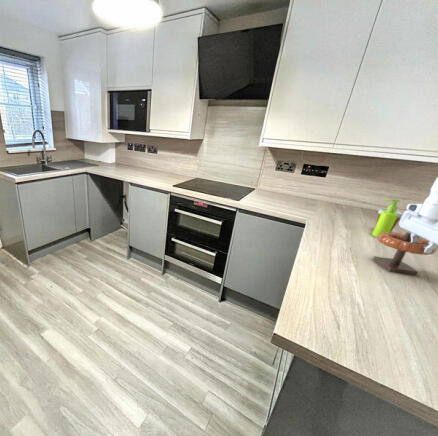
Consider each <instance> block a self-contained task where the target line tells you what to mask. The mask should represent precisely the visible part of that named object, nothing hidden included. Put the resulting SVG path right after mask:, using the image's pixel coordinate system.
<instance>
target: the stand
mask: <svg viewBox="0 0 438 436" xmlns="http://www.w3.org/2000/svg"><path fill="white" fill-rule="evenodd" d="M411 233H412V232H405V234H404V235H405V236H404V238H403V240H402V241H406V242H411ZM406 253H407V252H405V251H401V250H398V249H396V252H395V253H394V255H393V257H392V258H390V257H383V256H376V255H374V257H373V259H372V260H373V261H374V262H375V263H377V264H378V265H380V266H381V267H383V268H384V269H386V270H387V271H388V272H392V273H400V274H406V275H413V276H417V275H418V273H419V271H418V270H416V269H415V268H413V267H412V266H410V265H409V264H407V263H405V262H404V261H403V259H404V257H405V255H406Z"/></svg>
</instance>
